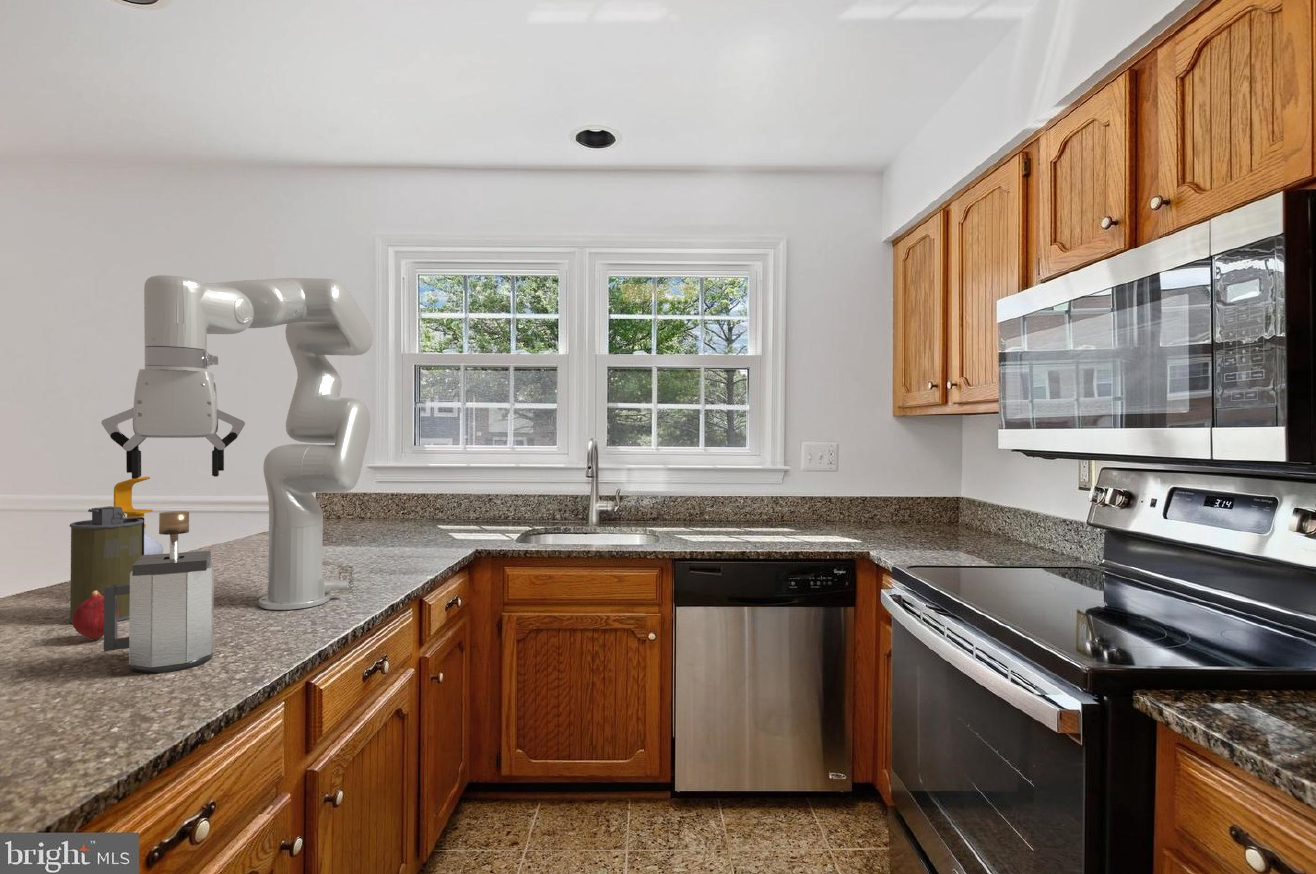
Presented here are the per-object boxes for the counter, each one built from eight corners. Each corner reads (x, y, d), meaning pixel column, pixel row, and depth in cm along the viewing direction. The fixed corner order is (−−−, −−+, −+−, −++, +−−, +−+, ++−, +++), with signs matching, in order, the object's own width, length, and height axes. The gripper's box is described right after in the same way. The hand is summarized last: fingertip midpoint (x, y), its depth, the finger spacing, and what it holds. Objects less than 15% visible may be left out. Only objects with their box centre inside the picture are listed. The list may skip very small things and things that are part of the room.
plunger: (201, 634, 104) (203, 509, 104) (198, 646, 99) (199, 514, 98) (148, 640, 101) (150, 511, 101) (141, 653, 95) (143, 516, 95)
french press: (214, 647, 106) (215, 549, 106) (210, 666, 98) (211, 560, 98) (111, 660, 100) (112, 556, 100) (97, 681, 92) (98, 568, 91)
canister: (92, 627, 116) (93, 512, 115) (54, 621, 119) (55, 508, 119) (158, 612, 126) (159, 505, 126) (121, 606, 129) (122, 503, 129)
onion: (127, 637, 111) (127, 588, 111) (87, 647, 106) (88, 596, 105) (103, 633, 113) (103, 585, 113) (63, 643, 107) (64, 593, 107)
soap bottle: (139, 604, 131) (140, 478, 131) (93, 603, 131) (94, 478, 131) (173, 593, 140) (174, 475, 140) (130, 592, 140) (131, 475, 140)
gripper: (245, 366, 107) (245, 473, 108) (107, 360, 98) (108, 476, 99) (244, 363, 101) (244, 477, 101) (95, 356, 92) (96, 481, 92)
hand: (177, 476), depth 100 cm, fingers open, 9 cm apart
